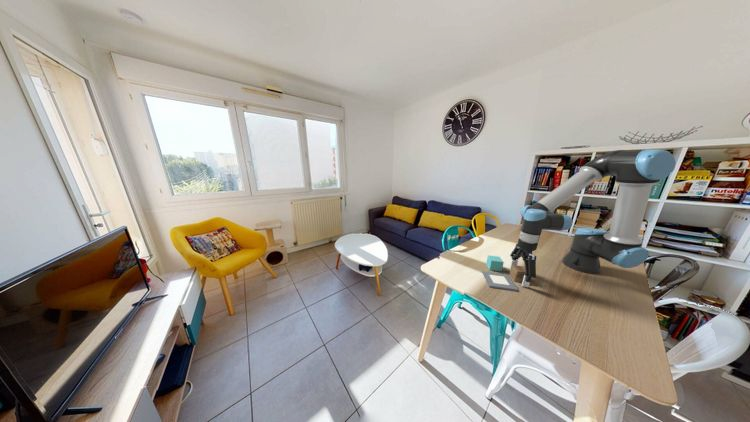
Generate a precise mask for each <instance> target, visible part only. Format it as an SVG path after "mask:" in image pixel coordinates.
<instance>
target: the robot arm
mask: <svg viewBox="0 0 750 422" xmlns="http://www.w3.org/2000/svg"><path fill="white" fill-rule="evenodd" d="M676 163H677V162H676V157H675V156H674V155H673V154H672V153H671V152H670V151H668V150H666V149H654V148H653V149H652V148H651V149H649V148H647V149H617V150H612V151H608V152H606V153H603V154H601V155H599V156H597V157H595V158H593V159H591V160H590V161H589V162H586V163H585V164H584V165H582V166H581V167H580V168H579V171H578V172H577V173H575V174H574V175H572V176H570V177H569V178H568V179H567V180H566V181H564V182H563V183H561V184H560V185H559V186H557V187H556V188H554V189H552V190H551V192H549V193H547V194H546V195H545V196H543V197H542V198H540V200H538V201H537V202H536V203H534V204H533V205H530V204H529V205H528V204H527V205H524V206H523V207H522V208H521V209H520V215H521V217H523V220H522V225H521V229H520V232H519V237H518V238H519V239H518V240H517V243H515V247H514V248H513V249H512V251H511V252H510V257H511V261H510V262H511V263H510V267H509V271H510V270H511V265H517V266H518V263H519V260H520V258H521V259H522V261H523V262H524V266H525V270H526V274H524V278H523V282H521V287H524V288H529V287H530V284H531V281H532V278H537V268H536V267H537V255H533V252H535V251H537V248H538V245H539V243H540V242H539V241H540V238H541V234H542V232H543V231H558V232H559V231H567V230H570V229H571V228H572V226H573V223H574V222H573V219H572V217H571V216H570V215H568V214H562V213H560V214H559V213H554V212H553V211H554V210H555V209H557V208H558V207H560V206H561V205H563V204H564V203H565V202H567V201H568V200H569V199H571V198H572V197H574V196H575V195H577V194H578V193H580V192H582V191H583V190H584V189H585V188H587V187H588V186H590V185H591V184H593V183H594V182H597V181H601V180H602V179H604V178H606V177H610V176H613V177H615V181H614V182H615V183H616V184H617V185H618V190H617V196H616V199H615V204H614V208H613V214H612V217H611V223H610V226H609V231H607V230H604V229H601V228H599V229H598V228H592V227H591V228H590V227H579V228H577V229H576V231H575V233H574V236H573V239H572V241H571V246H570V248H569V251H568V252H567V253H566V254H565V255H564V256H563V258H562V260H561V263H563V264H564V265H565V266H566V267H569V268H571V269H573V270H575V271H579V272H582V273H587V274H591V275H592V274H599V273H600V270H601V263H600V259H603V260H605V261H607V262H609V263H610V264H612V265H616V266H618V267H620V268H624V269H632V268H635V267H638V266H640V265H642V264H643V263H644V262H645V261H647V259H648V257H649V255H650V252H649V251H648V249H647V248H645V247H642V246H643V243H644V241H643V239H641V238H640V237H639V236H640V233H641V229H642V225H643V221H644V217H645V213H646V210H647V206H648V202H649V199H650V195H651V191H652V187H653V186H655V185H657V184H659V183H660V182H661V180H663V179H665V178H667V177H669V176H670V175H671V173H673V172H674V170H675V168H676Z"/></svg>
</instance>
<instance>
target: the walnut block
mask: <svg viewBox="0 0 750 422" xmlns="http://www.w3.org/2000/svg"><path fill="white" fill-rule="evenodd" d="M510 265H511V264H510ZM508 274H509V275H508V276H509V277H510V278H511V280H513V281H514V282H517V283H522V282H523V278H524V274H526V270H525V265H518V264H517V265H511V270H510V269H509V273H508Z"/></svg>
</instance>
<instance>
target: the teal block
mask: <svg viewBox="0 0 750 422" xmlns="http://www.w3.org/2000/svg"><path fill="white" fill-rule="evenodd" d="M485 265H486V267H487V266H488V267H487V268H488V270H489V271H492V270H495V272H500V271H501V273H502V270H503V268H504V267H503V266H504V260H503V259H502V258H501V256H496V255H490V254H489V255H487V258H486V263H485Z"/></svg>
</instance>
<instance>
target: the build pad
mask: <svg viewBox="0 0 750 422" xmlns="http://www.w3.org/2000/svg"><path fill="white" fill-rule="evenodd" d="M482 273H483V274H482ZM481 274H482V276H483V275H484V276H483V278H484V279H486V280H485V281H486V284H487V285H488V287H489V288H492V289H499V290H506V291H513V292H518V291H519V289H518V288H517V286H516V285H515V283H514V282H513V281H512V280H513V279H512V278H511V277H510V275H508V274H506V273H499V272H492V271H485V270H484V271H482V272H481Z"/></svg>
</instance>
